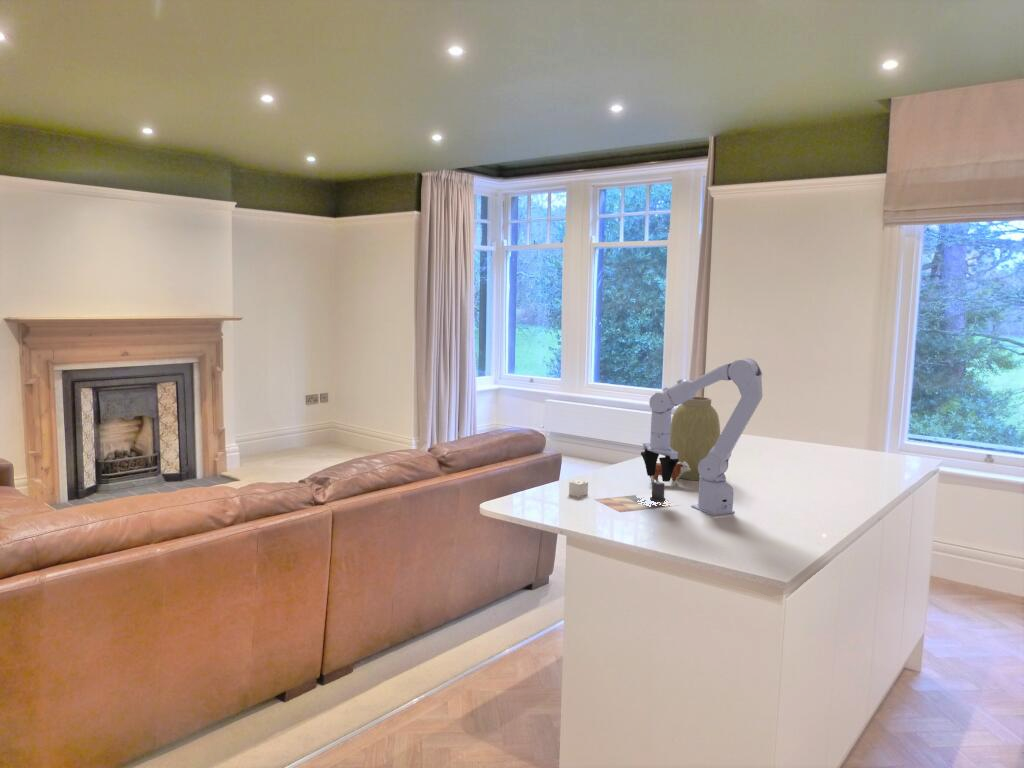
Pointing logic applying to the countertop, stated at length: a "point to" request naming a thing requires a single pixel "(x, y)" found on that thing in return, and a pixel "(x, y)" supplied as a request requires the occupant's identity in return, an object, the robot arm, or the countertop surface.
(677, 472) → the bull figurine
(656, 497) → the dark grey rounded knob
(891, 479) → the countertop surface
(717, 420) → the vase
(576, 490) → the die
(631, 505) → the track board
